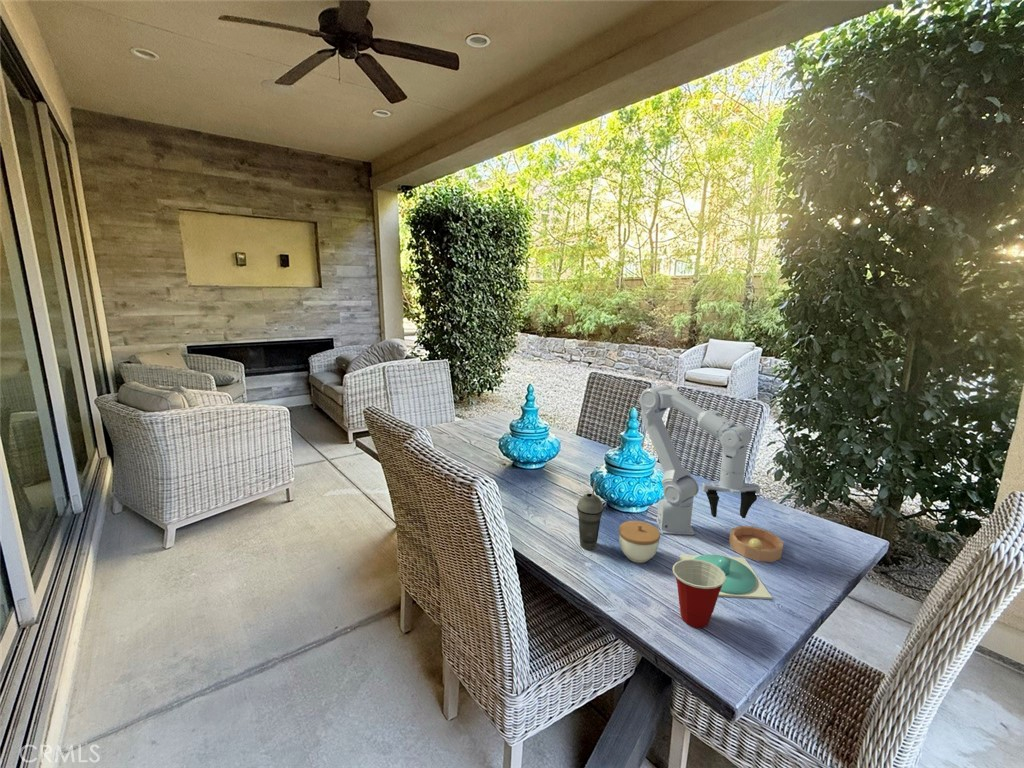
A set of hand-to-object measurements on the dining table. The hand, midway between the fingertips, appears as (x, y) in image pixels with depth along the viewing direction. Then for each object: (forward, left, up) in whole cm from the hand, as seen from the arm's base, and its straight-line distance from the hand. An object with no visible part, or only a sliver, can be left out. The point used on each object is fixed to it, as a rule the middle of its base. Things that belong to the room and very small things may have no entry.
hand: (727, 515), depth 126 cm
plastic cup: (-17, -28, -11) cm, 35 cm away
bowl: (+9, +2, -10) cm, 14 cm away
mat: (-5, -12, -10) cm, 17 cm away
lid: (-5, -12, -10) cm, 17 cm away
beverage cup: (-38, -1, -11) cm, 39 cm away
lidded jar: (-25, -5, -11) cm, 28 cm away
